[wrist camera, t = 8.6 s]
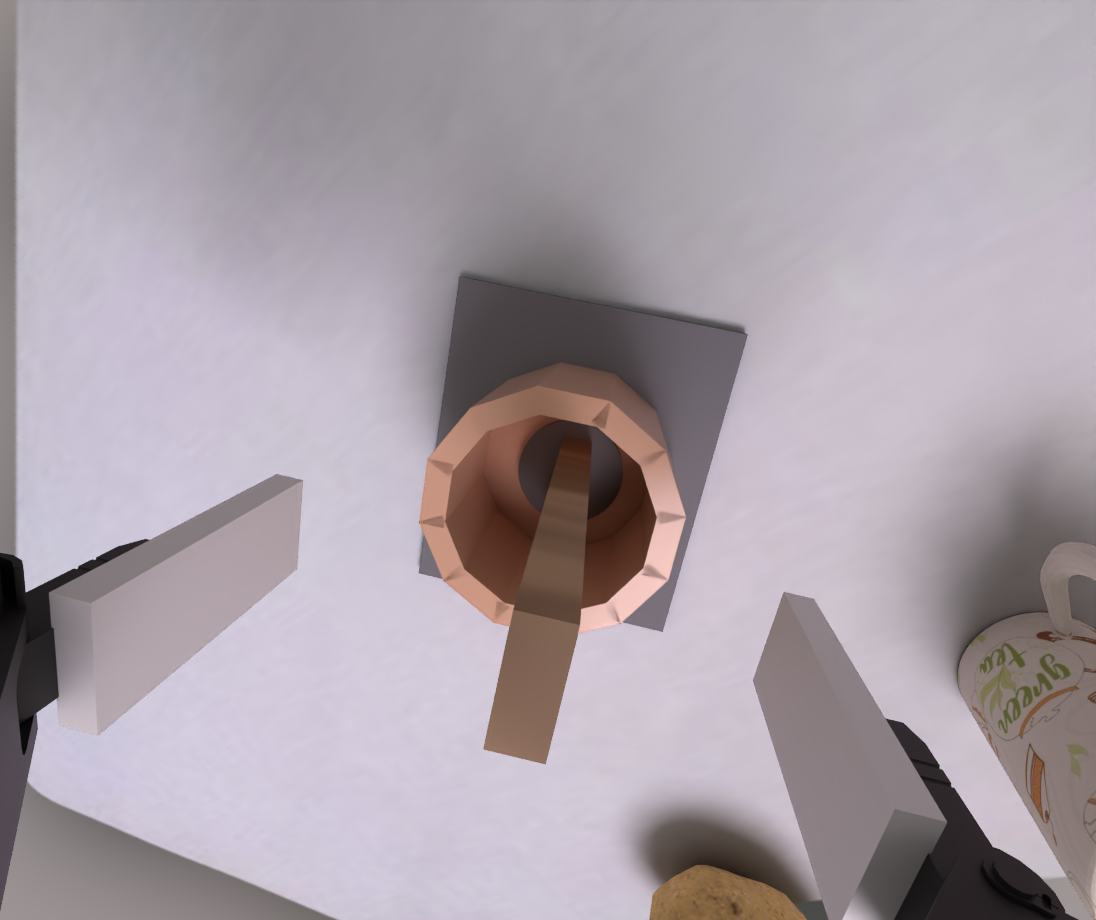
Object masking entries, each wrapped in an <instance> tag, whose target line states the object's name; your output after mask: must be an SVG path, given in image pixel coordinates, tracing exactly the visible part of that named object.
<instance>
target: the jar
mask: <svg viewBox="0 0 1096 920" xmlns="http://www.w3.org/2000/svg"><path fill="white" fill-rule="evenodd" d="M559 420H568V421H572V422H577V423H581V424H586V425H591V426H595V427H598V428H599V429H600V430H601V431H602V432H603V433H605V434H606V435H607V436H608V437H609V438H610V439H611V440H612V441H614V443H615V444H616V446H617V448H618V450H619V453H620V455H621V459H622V466H623V479H622V485H621V488H620V491H619V493H618V495H617V497H616V498H615V500H614V501H613V503H612V504H611V505H610V506H609V507H608V508H607V509H606V510H605V511H604V512H602V513H601V514H599V515H598V516H596V517H594V518H591V519H588V520H587V529H586V544H585V560H584V575H583V591H582V606H581V621H580V628H579V632H578V633H583V632H587V631H591V630H596V629H600V628H604V627H608V626H613V625H617V624H621V623H622V622H623V621H624V620H625V619H626V618H627V617H628V616H630V615H631V614H632V613H633V612H634V611H635V610H636V609H637V608H638V607H639V606H641V605H642V604H643V603H644V602H645V601H646V600H647V599H648V598H649V597H650V596H652V595H653V594H654V593H655V592H656V591H657V590H658V589H659V588H660V587H661V586H663V585H664V584H665V583H666V582H667V581H668V580H669V576H670V572H671V569H672V565H673V561H674V558H675V554H676V551H677V547H678V544H679V540H680V537H681V533H682V529H683V526H684V522H685V519H686V514H685V510H684V506H683V502H682V498H681V494H680V490H679V486H678V482H677V478H676V474H675V470H674V466H673V462H672V460H671V457H670V453H669V450H668V447H667V443H666V440H665V437H664V434H663V430H662V427H661V424H660V420H659V417H658V413H657V410H655V409H654V408H653V407H652V406H651V405H650V404H649V403H647V402H646V401H645V400H644V399H643V398H642V397H641V396H640V395H639V394H637V393H636V392H635V391H634V390H633V389H632V388H631V387H630V386H629V385H627V384H626V383H625V382H624V381H623V380H622V379H621V378H620V377H619V376H618V375H616V374H615V373H610V372H605V371H601V370H596V369H591V368H586V367H582V366H577V365H572V364H567V363H562V362H559V363H556V364H553V365H550V366H548V367H545V368H542V369H539V370H536V371H533V372H530V373H527V374H524V375H521V376H518V377H515V378H512V379H509V380H507V381H506V382H505V383H503V384H502V385H501V386H499V387H498V388H497V389H495V390H494V391H492V392H491V393H490V394H488V395H487V396H486V397H484V398H483V399H481V400H480V401H479V402H477V403H476V404H475V405H473V406H472V407H471V408H470V409H469V410H468V411H467V412H466V414H465V415H464V416H463V417H462V418H461V420H460V421H459V422H458V423H457V424H456V426H455V427H454V428H453V429H452V430H451V432H450V433H449V434H448V435H447V436H446V438H445V439H444V440H443V441H442V442H441V444H440V445H439V446H438V447H437V448H436V450H435V451H434V452H433V453H432V454H431V456H430V457H429V458H428V460H427V468H426V475H425V483H424V490H423V498H422V505H421V513H420V520H419V523H420V525H421V528H422V530H423V532H424V535H425V537H426V540H427V542H428V544H429V547H430V549H431V552H432V554H433V556H434V559H435V561H436V564H437V566H438V568H439V571H440V573H441V576H442V578H443V580H444V582H445V583H447V584H448V585H449V586H450V587H451V588H453V589H454V590H455V591H456V592H457V593H459V594H460V595H461V596H462V597H463V598H465V599H466V600H467V601H468V602H469V603H471V604H472V605H473V606H474V607H475V608H477V609H478V610H479V611H480V612H481V613H483V614H484V615H485V616H486V617H487V618H489V619H490V620H491V621H492V622H493V623H497V624H501V625H505V626H509V627H510V622H511V618H512V613H513V609H514V605H515V602H516V598H517V595H518V591H519V588H520V585H521V581H522V578H523V574H524V571H525V567H526V564H527V560H528V557H529V554H530V550H531V547H532V543H533V540H534V536H535V533H536V530H537V526H538V523H539V519H540V516H541V513H540V512H539V511H538V510H536V509H535V508H534V507H533V506H532V505H531V504H530V502H529V501H528V500H527V498H526V497H525V495H524V493H523V491H522V488H521V486H520V482H519V476H518V467H519V460H520V457H521V454H522V451H523V449H524V447H525V445H526V444H527V442H528V441H529V439H530V438H531V437H532V436H533V435H534V434H535V433H536V432H537V431H538V430H539V429H541V428H542V427H544V426H546V425H547V424H549V423H552V422H555V421H559Z"/></svg>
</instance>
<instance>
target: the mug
mask: <svg viewBox="0 0 1096 920" xmlns="http://www.w3.org/2000/svg"><path fill="white" fill-rule="evenodd" d="M1074 575H1083V576H1087V577H1089V578H1092V579H1093V580H1095V581H1096V546H1094V545H1091V544H1088V543H1083V542H1065V543H1062V544H1060V545H1058V546H1056V547H1054V548H1053V549H1052V550H1051V552H1050V553H1049V555H1048V557H1047V558H1046V560H1045V562H1044V564H1043V566H1042V568H1041V572H1040V583H1041V588H1042V592H1043V595H1044V599H1045V602H1046V605H1047V609H1048V612H1049V613H1046V612H1035V613H1025V614H1020V615H1016V616H1012V617H1009V618H1006V619H1003V620H1001V621H999V622H997V623H995V624H993V625H991V626H990V627H988V628H987V629H985V630H984V631H983V632H981V633H980V634H979V635H978V636H977V637H976V638H975V639H974V640H973V641H972V642H971V643H970V644H969V646H968V647H967V649H966V650H965V652H964V654H963V656H962V658H961V661H960V664H959V668H958V684H959V688H960V692H961V694H962V697H963V699H964V701H965V703H966V705H967V706H968V708H969V710H970V712H971V713H972V715H973V717H974V719H975V720H976V722H977V724H978V725H979V727H980V729H981V731H982V732H983V734H984V736H985V737H986V739H987V741H988V743H989V744H990V746H991V748H992V749H993V751H994V753H995V754H996V756H997V758H998V760H999V761H1000V763H1001V765H1002V766H1003V768H1004V770H1005V772H1006V773H1007V775H1008V777H1009V778H1010V780H1011V782H1012V783H1013V785H1014V787H1015V789H1016V790H1017V792H1018V794H1019V795H1020V797H1021V799H1022V801H1023V802H1024V804H1025V806H1026V807H1027V809H1028V811H1029V813H1030V814H1031V816H1032V818H1033V819H1034V821H1035V823H1036V824H1037V826H1038V828H1039V830H1040V831H1041V833H1042V835H1043V836H1044V838H1045V840H1046V842H1047V843H1048V845H1049V847H1050V848H1051V850H1052V852H1053V854H1054V855H1055V857H1056V859H1057V860H1058V862H1059V864H1060V865H1061V867H1062V869H1063V871H1064V872H1065V874H1066V876H1067V877H1068V879H1069V881H1070V883H1071V884H1072V886H1073V887H1074V889H1075V891H1076V893H1077V895H1078V896H1079V898H1080V900H1081V901H1082V903H1083V904H1084V906H1085V907H1086V909H1087V910H1088V912H1089V914H1090V915H1091V917H1092V918H1093V920H1096V629H1095V628H1093V627H1091V626H1089V625H1087V624H1085V623H1083V622H1081V621H1078V620H1076V619H1074V618H1072V616H1071V608H1070V600H1069V591H1068V584H1069V579H1070V577H1071V576H1074Z"/></svg>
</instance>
